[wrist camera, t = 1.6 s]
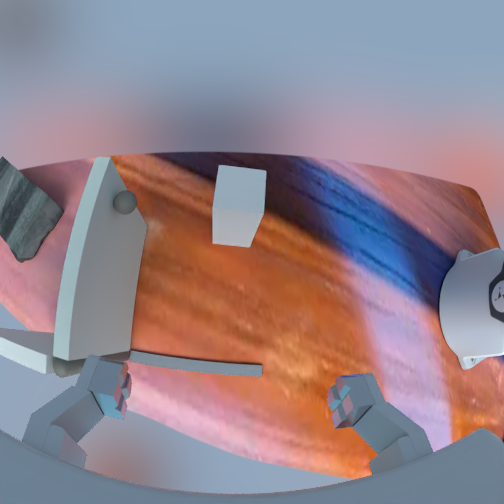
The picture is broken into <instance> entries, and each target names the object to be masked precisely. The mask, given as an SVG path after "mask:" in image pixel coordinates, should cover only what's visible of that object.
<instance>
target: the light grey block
mask: <svg viewBox="0 0 504 504" xmlns="http://www.w3.org/2000/svg"><path fill="white" fill-rule="evenodd" d="M265 186H266V171H264V170H257V169H249V168H241V167H233V166H224V165H219V168H218V175H217V181H216V188H215V194H214V201H213V244H222V245H231V246H240V247H250V245H251V243H252V240H253V238H254V236H255V233H256V231H257V228H258V226H259V224H260V221H261V219H262V216H263V214H264V203H265Z"/></svg>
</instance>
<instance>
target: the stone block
mask: <svg viewBox="0 0 504 504" xmlns="http://www.w3.org/2000/svg"><path fill="white" fill-rule="evenodd" d="M63 213H64V211H63V210H62V209H61V208H60V207H59V206H58V205H57V204H56V203H55V202H54V201H53V200H52V199H51V198H50V197H49V196H48V195H47V194H46V193H45V192H43V191H42V190H41V189H40V188H38V187H37V186H36V185H35V184H34V183H32V182H31V181H30V180H29V179H28V178H27V177H25V176H24V175H23V174H22V173H21V172H20V171H18V170H17V169H16V168H15V167H14V166H13V165H11V164H10V163H9V162H8V161H7V160H6V159H5V158H4V157H2V158H1V159H0V236H1V237H2V238H3V239H4V241H5V242H6V243H7V244H8V245H9V247H10V249H11V251H12V253H13V254H14V256H15V258H16V259H17V260H18V261H19V262H21V263H22V262H24V261H25V260H30V259H32V258H33V257H34V255H35V253H36V252H37V250H38V248H39V246H40V245H41V244H42V242H43V240H44V239H45V237H46V236H47V235H48V234H49V232H50V231H52V230H53V228H54V227H55V225H56V224H57V222H58V220H59V219H60V217H61V216H62V214H63Z"/></svg>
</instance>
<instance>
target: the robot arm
mask: <svg viewBox="0 0 504 504" xmlns="http://www.w3.org/2000/svg"><path fill="white" fill-rule="evenodd" d="M440 322H441V327H442V331H443V335H444V337H445V340H446V342H447V344H448V346H449V347H450V348H451V350H452V351H453V352H454V353H455V354H456V355H457V356H458V359H459V362H460V365H461V367H462V369H470V368H471V367H473V366H474V365H476V364H477V363H479V362H480V361H482V360H483V359H485V358H486V357H491V356H500V355H504V251H503V250H500V249H499V248H494V249H491V250H488V251H485V252H482V253H479V254H476V255H474V254H473V253H471V252H469V251H467V250H461V251H459V252H458V255H457V258H456V262H455V264H454V266H453V267H452V268H451V269H450V270H449V272H448V273H447V275H446V277H445V279H444V282H443V285H442V289H441V294H440ZM127 371H128V365H127V363H126V362H121V361H117V360H112V359H108V358H104V357H100V356H96V355H92V354H90V355H89V356H88V357H87V359H86V361H85V364H84V366H83V368H82V371H81V373H80V376H79V378H78V381H77V383H76V386H75V387H74V386H71V387H70V388H68V389H67V390H65V391H64V392H63V393H61V394H60V395H58V396H57V397H55V398H54V399H53V400H51V401H50V402H48V403H47V404H45V405H44V406H42V407H41V408H40V409H38V410H37V411H35V412H34V413H32V415H31V417H30V420H29V423H28V426H27V428H26V431H25V434H24V437H23V439H22V441H20V440H18V439H17V438H15V437H13V436H11V435H10V434H8V433H6V432H4V431H3V430H1V429H0V504H504V443H503V442H502V440H501V439H500V438H499V437H498V436H496V435H495V434H493V433H492V432H490V431H489V430H487V429H485V428H480V429H478V430H476V431H474V432H472V433H471V434H469V435H467V436H465V437H463V438H461V439H460V440H458V441H456V442H454V443H452V444H450V445H448V446H446V447H444V448H442V449H440V450H438V451H435V452H433V450H432V448H431V445H430V443H429V440H428V438H427V436H426V433H425V431H424V429H422V428H421V427H420V426H419V425H417V424H416V423H415V422H413V421H412V420H411V419H409V418H408V417H407V416H405V415H404V414H403V413H401V412H400V411H399V410H398V409H396V408H395V407H394V406H392V405H391V404H390V403H389V402H388V403H386V402H385V400H384V397H383V395H382V393H381V391H380V388H379V386H378V384H377V381H376V379H375V377H374V375H373V374H372V373H366V374H354V375H343V376H339V377H337V378H336V380H335V383H336V384H335V385H334V386H332V387H331V388H330V390H329V391H328V396H327V401H328V406H329V408H330V409H331V410H333V414H332V416H331V417H332V420H333V424H334V427H335V429H338V428H346V427H352V428H353V429H354V430H355V431H356V432H357V433H358V434H359V435H360V436H361V437H362V438H363V439H364V440H365V441H366V442H367V443H368V444H369V446H370V447H371V448H372V449H373V450H374V451H375V452H376V453H377V454H378V455H377V456H376V457H374V458H373V459H371V461H370V462H369V464H370V468H371V471H372V475H370V476H367V477H363V478H359V479H355V480H351V481H347V482H343V483H338V484H333V485H328V486H323V487H317V488H310V489H304V490H296V491H287V492H275V493H259V494H217V493H199V492H189V491H180V490H171V489H165V488H159V487H153V486H148V485H143V484H137V483H133V482H129V481H125V480H121V479H117V478H113V477H110V476H106V475H102V474H99V473H96V472H93V471H90V470H87V469H84V465H85V460H86V456H87V455H86V453H85V451H84V450H83V449H82V448H81V447H80V446H79V445H78V444H77V442H79V440H80V439H82V438H83V437H84V436H85V435H86V434H87V433H88V432H89V431H90V430H91V429H92V428H93V427H94V426H95V425H96V424H97V423H98V422H99V421H100V420H101V419H102V418H103V417H104V416H108V417H113V418H117V419H122V420H124V418H125V414H126V410H127V404H126V401H125V400H126V399H127V398H129V397H130V393H131V385H132V382H131V376H130V374H129V373H128V372H127Z"/></svg>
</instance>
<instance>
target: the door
mask: <svg viewBox="0 0 504 504" xmlns="http://www.w3.org/2000/svg"><path fill="white" fill-rule="evenodd" d="M136 206H137V199H136V196H135V195H134V194H133V193H132V192H131V191H128V190H127V188H126V186H125V184H124V182H123V181H122V179H121V177H120V175H119V173H118V171H117V169H116V167H115V165H114V163H113V161H112V159H111V157H96V159H95V161H94V164H93V167H92V169H91V172H90V175H89V177H88V180H87V183H86V186H85V189H84V192H83V195H82V198H81V201H80V204H79V207H78V211H77V214H76V218H75V221H74V225H73V228H72V232H71V236H70V240H69V244H68V249H67V253H66V258H65V262H64V267H63V273H62V278H61V284H60V290H59V297H58V304H57V312H56V321H55V332H54V346H53V356H55V357H58V358H56V359H55V360H54V362H53V370H54V372H55V374H56V375H57V376H59V377H67V376H71V375H75V374H79V373H81V371H82V368H83V366H84V364H85V361H86V359H87V357H88V356H89V355H90V354H92V355H96V356H100V357H104V358H108V359H112V360H117V361H121V362H123V361H127V360H128V359H129V357H130V355H129V352H128V351H130V343H131V332H132V322H133V313H134V305H135V297H136V289H137V282H138V276H139V270H140V263H141V258H142V252H143V247H144V241H145V236H146V231H147V224H146V223H145V221H144V219H143V217H142V216H141V214H140V212H139V210H138V208H137V207H136Z"/></svg>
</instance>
